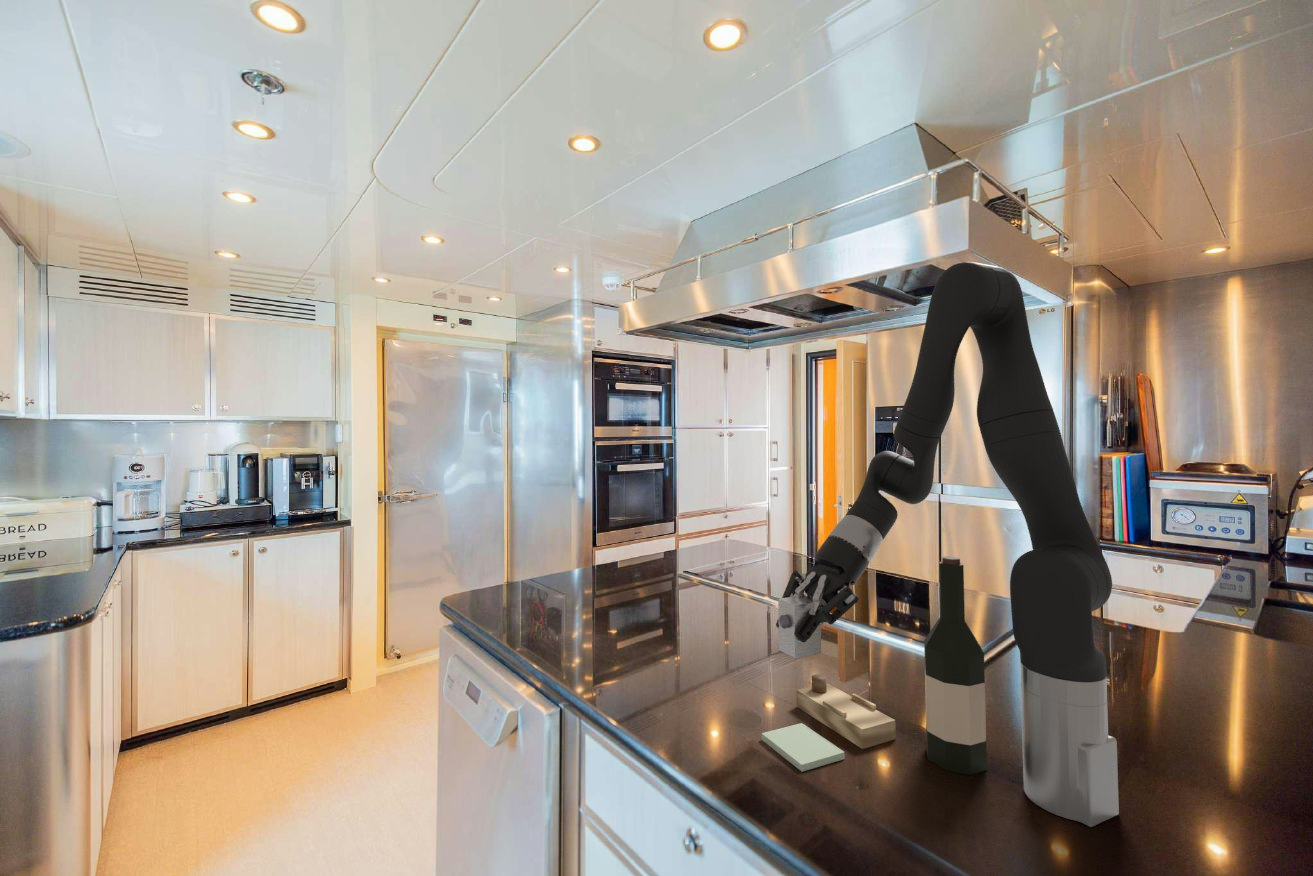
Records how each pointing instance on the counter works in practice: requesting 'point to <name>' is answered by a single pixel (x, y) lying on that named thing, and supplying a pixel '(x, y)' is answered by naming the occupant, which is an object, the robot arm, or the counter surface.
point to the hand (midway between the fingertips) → (789, 633)
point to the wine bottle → (954, 682)
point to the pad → (802, 747)
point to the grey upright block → (789, 620)
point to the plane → (846, 713)
